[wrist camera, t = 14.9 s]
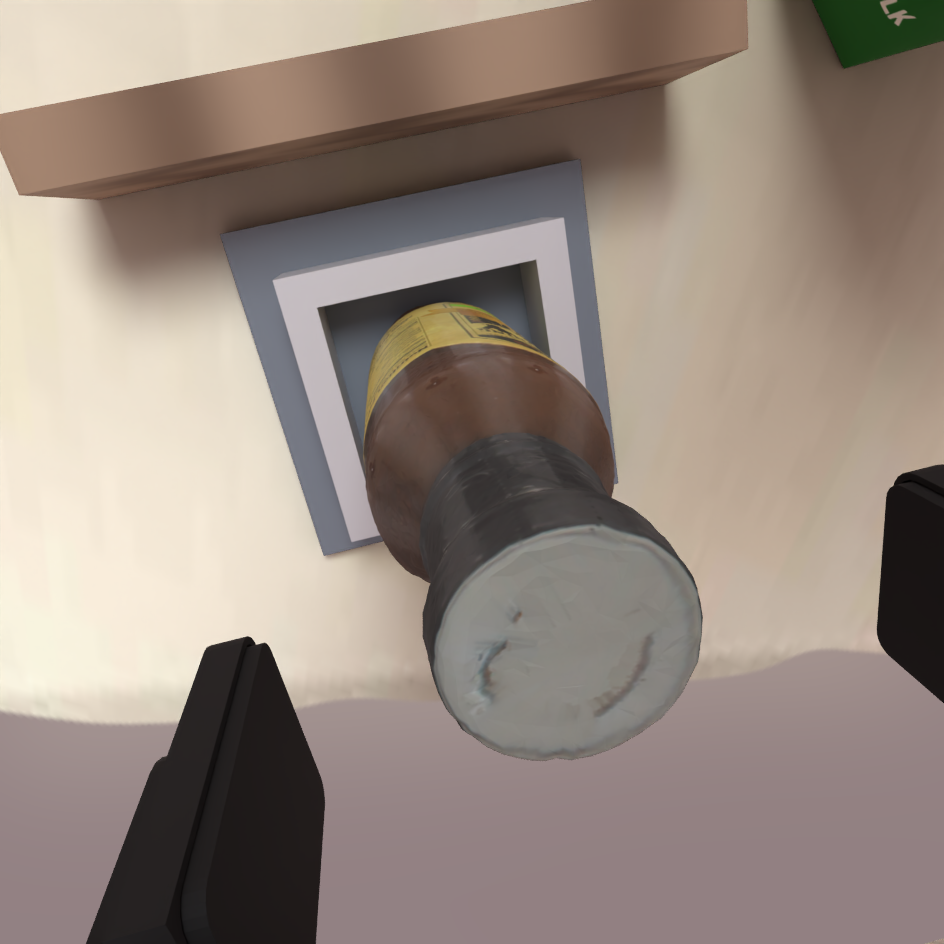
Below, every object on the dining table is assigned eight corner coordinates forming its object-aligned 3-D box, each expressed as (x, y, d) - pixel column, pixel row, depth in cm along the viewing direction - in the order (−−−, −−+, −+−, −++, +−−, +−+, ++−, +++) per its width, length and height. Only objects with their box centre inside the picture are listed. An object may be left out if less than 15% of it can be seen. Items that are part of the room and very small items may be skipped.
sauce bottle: (541, 392, 29) (849, 713, 10) (419, 467, 29) (506, 902, 11) (466, 259, 26) (697, 373, 8) (334, 343, 27) (262, 634, 8)
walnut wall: (661, 24, 25) (746, -30, 20) (665, 84, 26) (747, 48, 20) (74, 140, 23) (-14, 117, 18) (97, 199, 24) (19, 195, 19)
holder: (574, 160, 26) (606, 152, 23) (612, 476, 32) (643, 509, 28) (224, 233, 25) (202, 236, 22) (324, 547, 31) (319, 590, 27)
